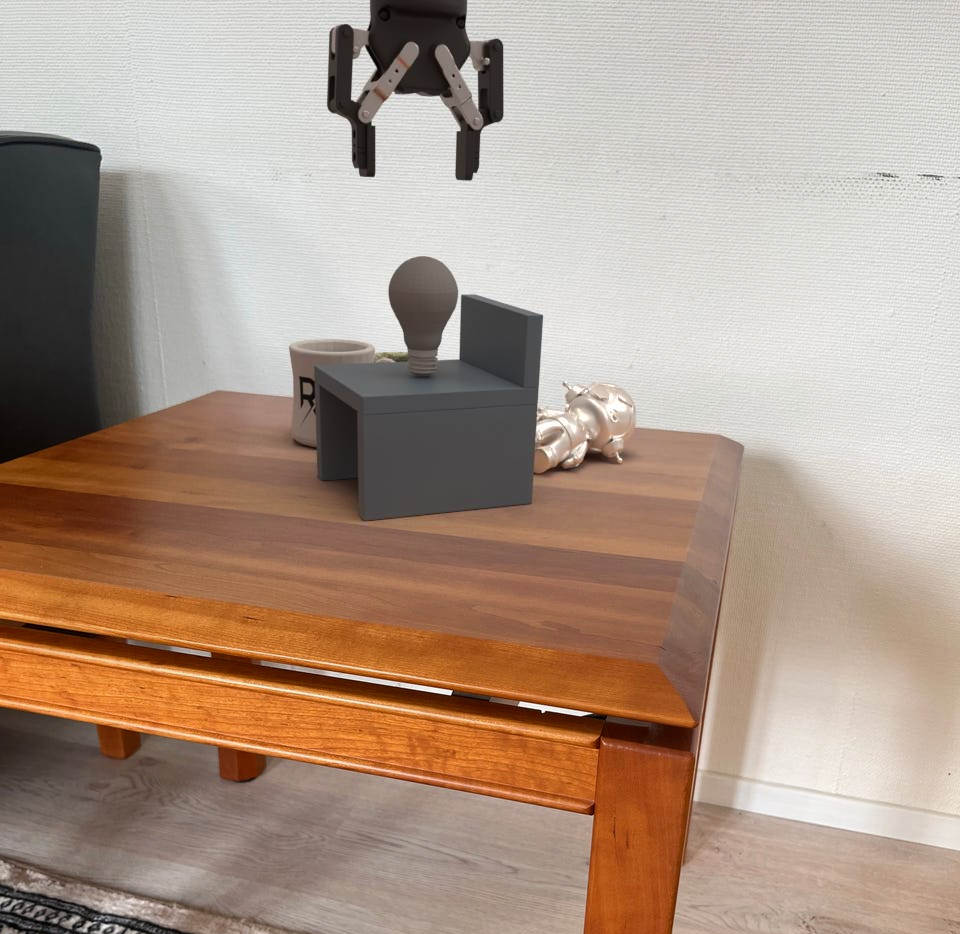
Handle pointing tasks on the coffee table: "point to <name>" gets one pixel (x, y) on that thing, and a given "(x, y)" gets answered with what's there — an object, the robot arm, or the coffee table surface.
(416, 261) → the light bulb
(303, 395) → the mug
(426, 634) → the coffee table surface
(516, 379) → the grey toy chair
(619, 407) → the figurine
